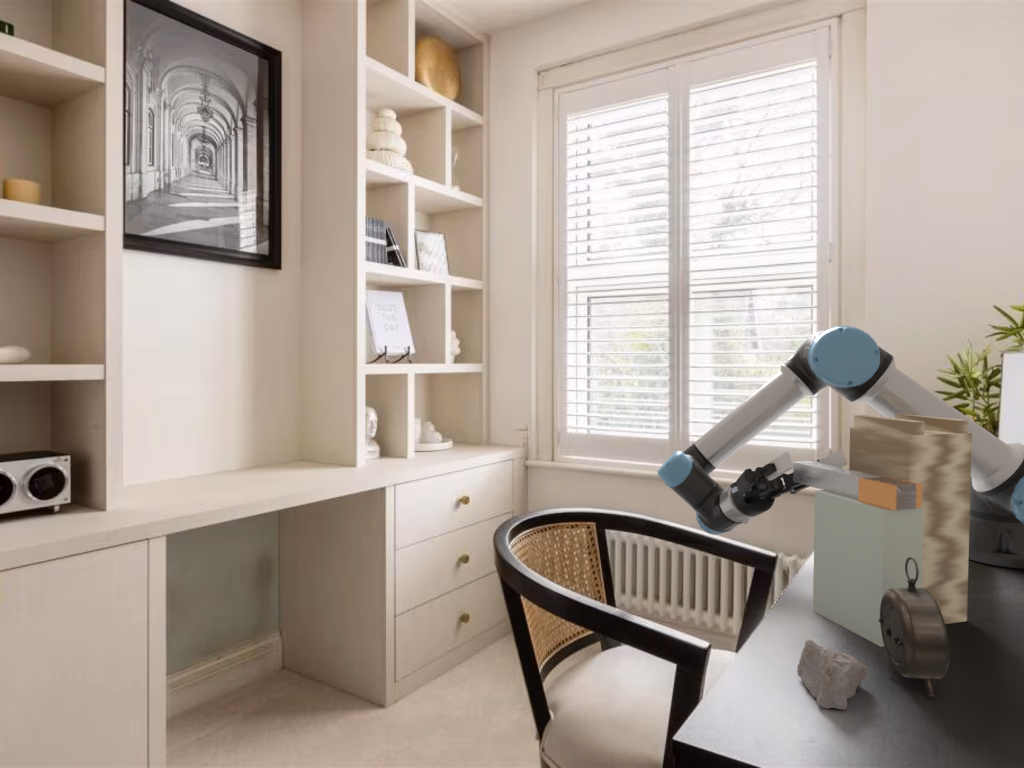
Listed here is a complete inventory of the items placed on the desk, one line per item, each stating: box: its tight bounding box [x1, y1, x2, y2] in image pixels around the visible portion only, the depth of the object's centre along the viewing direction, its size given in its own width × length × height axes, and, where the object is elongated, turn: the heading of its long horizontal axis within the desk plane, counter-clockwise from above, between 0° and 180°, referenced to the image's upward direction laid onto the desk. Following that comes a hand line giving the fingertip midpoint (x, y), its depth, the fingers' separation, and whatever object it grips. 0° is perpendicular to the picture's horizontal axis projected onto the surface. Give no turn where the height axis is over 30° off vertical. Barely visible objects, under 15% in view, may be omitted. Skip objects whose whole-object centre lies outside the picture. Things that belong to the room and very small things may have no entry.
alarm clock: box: [879, 557, 950, 700], centre depth 84 cm, size 11×5×16 cm, turn 168°
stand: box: [848, 414, 972, 625], centre depth 107 cm, size 12×12×32 cm
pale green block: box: [812, 489, 923, 648], centre depth 101 cm, size 7×14×20 cm, turn 15°
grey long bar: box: [792, 460, 922, 510], centre depth 104 cm, size 6×22×4 cm, turn 15°
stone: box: [796, 638, 868, 710], centre depth 81 cm, size 10×8×6 cm
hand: (816, 458), depth 110 cm, fingers open, 10 cm apart
